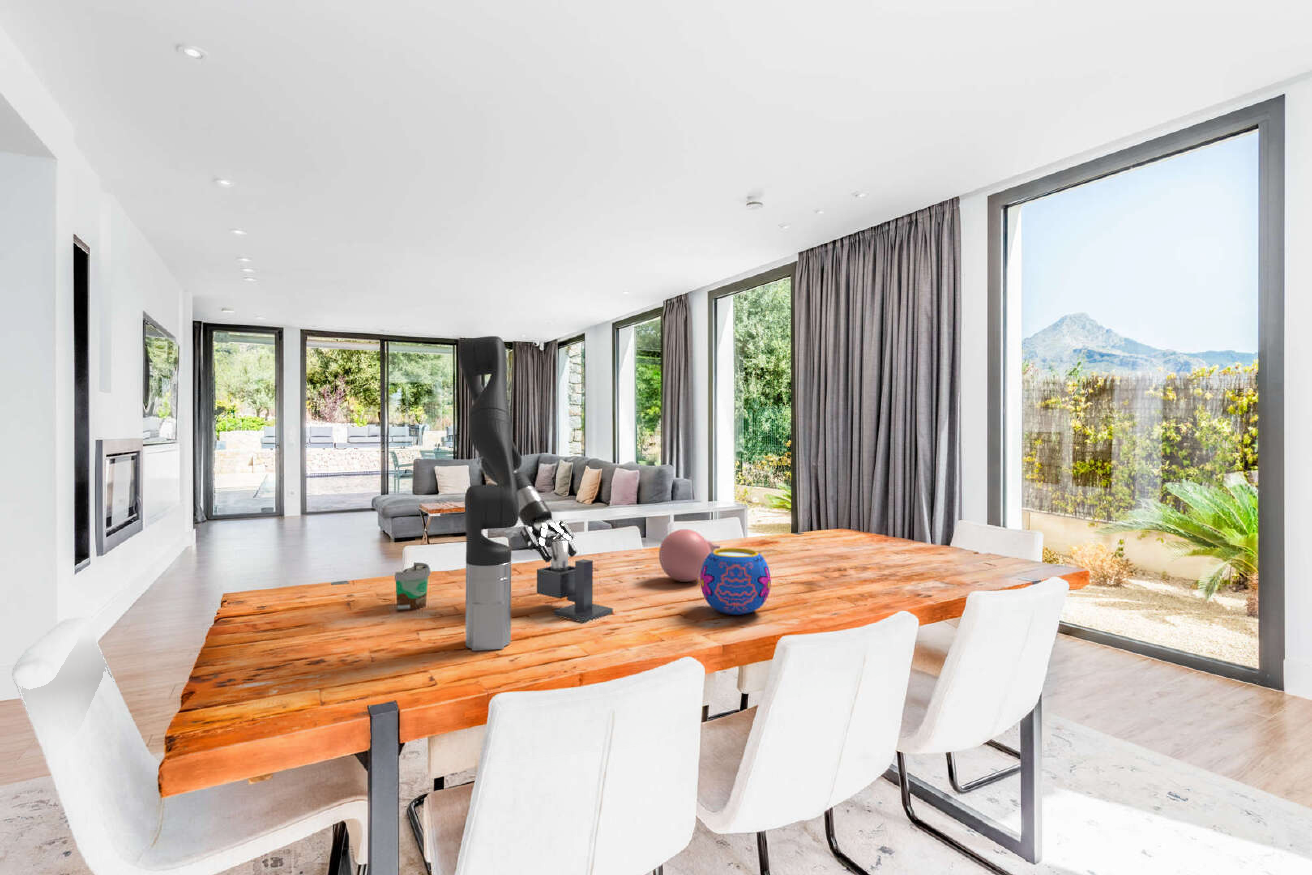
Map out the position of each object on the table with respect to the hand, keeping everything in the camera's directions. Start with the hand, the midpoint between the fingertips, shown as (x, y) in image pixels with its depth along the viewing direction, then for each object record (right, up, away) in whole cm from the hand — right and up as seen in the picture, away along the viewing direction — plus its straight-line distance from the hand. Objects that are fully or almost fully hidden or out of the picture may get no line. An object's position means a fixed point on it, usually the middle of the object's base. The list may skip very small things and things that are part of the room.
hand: (562, 557), depth 161 cm
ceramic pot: (+43, -14, -1) cm, 45 cm away
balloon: (+34, -13, +31) cm, 48 cm away
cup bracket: (+3, -13, -2) cm, 13 cm away
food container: (-37, -13, +1) cm, 39 cm away
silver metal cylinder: (-1, -8, 0) cm, 8 cm away
